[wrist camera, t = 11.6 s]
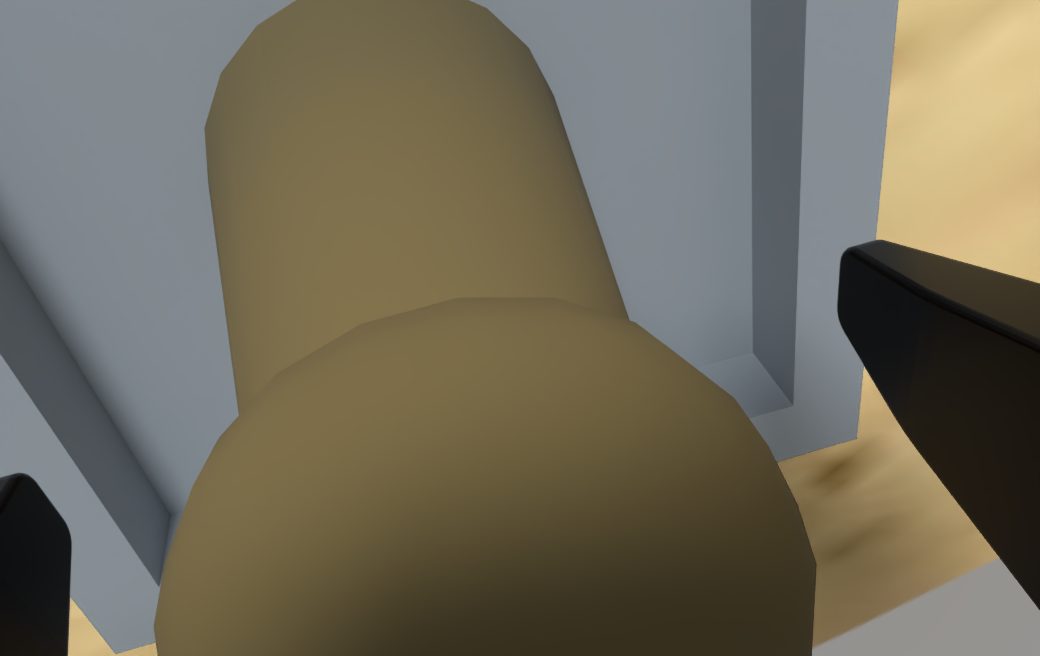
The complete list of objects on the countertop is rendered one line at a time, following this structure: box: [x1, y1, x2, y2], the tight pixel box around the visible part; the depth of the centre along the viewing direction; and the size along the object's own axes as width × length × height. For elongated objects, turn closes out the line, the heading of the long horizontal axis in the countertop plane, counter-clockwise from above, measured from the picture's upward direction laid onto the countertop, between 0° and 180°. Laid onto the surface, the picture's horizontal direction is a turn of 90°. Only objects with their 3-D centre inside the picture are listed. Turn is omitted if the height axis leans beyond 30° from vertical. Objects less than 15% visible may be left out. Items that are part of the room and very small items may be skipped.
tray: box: [0, 0, 898, 654], centre depth 14 cm, size 16×16×2 cm
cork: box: [153, 0, 816, 656], centre depth 10 cm, size 6×6×11 cm
